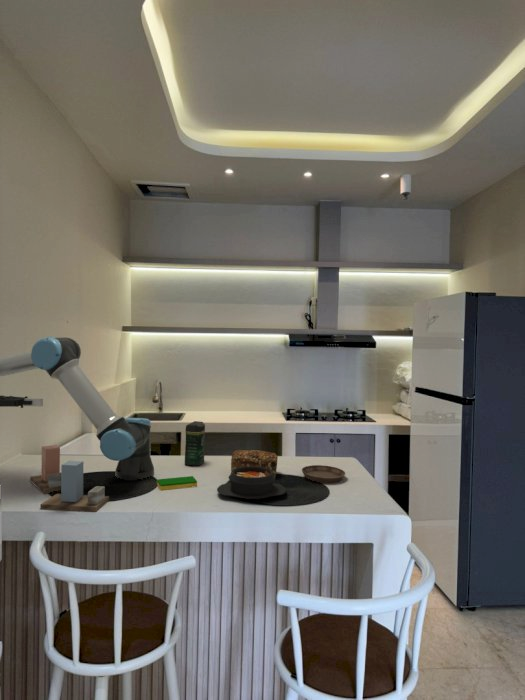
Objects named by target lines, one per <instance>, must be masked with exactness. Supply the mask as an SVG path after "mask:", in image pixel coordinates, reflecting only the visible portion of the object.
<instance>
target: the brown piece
mask: <svg viewBox="0 0 525 700" xmlns="http://www.w3.org/2000/svg"><path fill="white" fill-rule="evenodd" d="M41 477H42V474H39V475H31V476H30V477H29V479H30V480H31V481H32V482H33V483H34V484H35V485H36V486H37V487H36V486H35V487H36V488H37V489H39V490H40V491H41V492H42V494H44V495H45V494H46V495H47V494H50V492H52V493H54V492H53V491H57V492H59V491H58V490H61V472H60V473H55V474H49V475H47V482H45V481H44V480H43V479H42V478H41ZM31 481H30V482H31ZM32 482H31V483H32ZM33 483H32V484H33ZM34 484H33V485H34Z"/></svg>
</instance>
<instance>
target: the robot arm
mask: <svg viewBox="0 0 525 700" xmlns="http://www.w3.org/2000/svg"><path fill="white" fill-rule="evenodd" d="M31 348H32V349H31V350H29V351H26V352H21V353H16V354H13V355H9V356H3V357H0V376H1V377H5V376H10V375H14V374H18V373H19V374H20V373H25V372H28V371H33V370H39V369H40V370H44V371H45V372H46V373H47V374H48V375H49V376H50V378H51V379H53V380H54V379H55V380H58V381H59V382H60V384H61V386H63V388H64V389H65V390H66V392H67V393H68V394H69V395H70V397H71V398H72V400H73V401H74V402H75V403H76V405H77V406H78V407H79V409H81V412H83V414H84V415H85V416H86V418H87V419H88V420H89V422H90V423H91V424H92V426H93V427H94V428H95V429H96V438H97V439H98V441H99V448H100V452H101V453H102V455H104V457H105V458H106V459H108V460H110V461H116V462H117V461H118V462H117V465H116V468H115V471H114V472H115V473H114V475H115V476H116V477H117V478H116V477H115V476H114V477H115V478H116V479H118V478H120V479H119V480H121V479H124V480H123V481H138V480H137V479H141V480H144V479H143V478H146V479H148V478H147V477H149V478H151V477H153V476H154V475H155V467H154V464H153V461H152V458H151V428H152V427H151V420H150V419H149V418H144V417H124V416H121V415H117V414H116V413H115V412H114V410H113V408H112V407H111V406H110V405H109V403H108V402H107V401H106V399H105V398H104V397H103V396H102V394H100V392H99V391H98V389H97V388H96V387H95V386H94V384H93V383H92V382H91V380H90V379H89V378H88V377H87V375H86V374H85V372H84V371H83V370H82V368H81V367H80V366H79V365H80V358H81V354H82V350H81V347H80V345H79V343H78V342H77V341H76V340H75V339H74V338H70V337H53V336H47V337H44V338H43V337H42V338H40V339H39V340H37V341H36V342H35V343H34V345H33V346H32V347H31ZM43 406H44V399H43V398H31V397H28V396H27V395H25V396H14V395H9V396H8V395H6V396H5V395H0V407H1V408H2V407H3V408H4V407H5V408H6V407H11V408H12V407H13V408H14V407H20V409H23V408H24V407H43ZM150 476H151V477H150Z"/></svg>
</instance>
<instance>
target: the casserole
mask: <svg viewBox="0 0 525 700" xmlns="http://www.w3.org/2000/svg"><path fill="white" fill-rule="evenodd" d="M228 480H229V483H222V484H221V485H219V486H218V487H217V488H216V491H217V493H218V494H219V495H221V496H225V497H235V498H238V499H242V498H245V499H244V500H249V499H256V500H262V499H265V498H271V497H276V496H282V495H284V494H285V493H286V492H287V489H286V486H284V485H283V484H280V483H274V482H275V481H276V477H275V476H274V475H273V472H272V471H271V470H270V469H267V468H264V467H257V466H245V467H239V468H236V469H233V470H232V472H231V471H230V474H229V475H228ZM261 498H262V499H261Z"/></svg>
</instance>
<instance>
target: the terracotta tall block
mask: <svg viewBox="0 0 525 700" xmlns="http://www.w3.org/2000/svg"><path fill="white" fill-rule="evenodd" d="M60 465H61V448H60V446H58V445H57V444H52V445H46V446H45V445H44V446H41V475H42V477H41V478H42V479H43V480H44V481H45V482H47V475H49V474H55V473H61V471H60V470H61V469H60V468H61V466H60Z"/></svg>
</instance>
